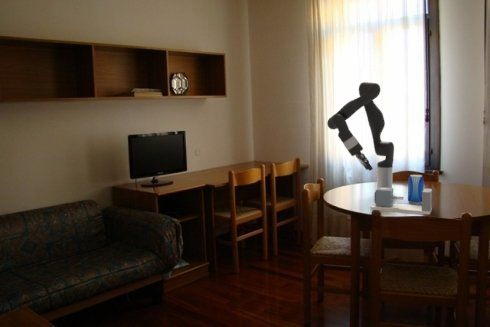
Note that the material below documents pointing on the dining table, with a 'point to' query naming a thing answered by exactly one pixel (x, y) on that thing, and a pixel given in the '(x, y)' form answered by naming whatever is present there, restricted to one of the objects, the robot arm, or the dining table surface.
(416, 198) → the beer can
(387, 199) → the gauge carriage
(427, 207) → the board
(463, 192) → the dining table surface
